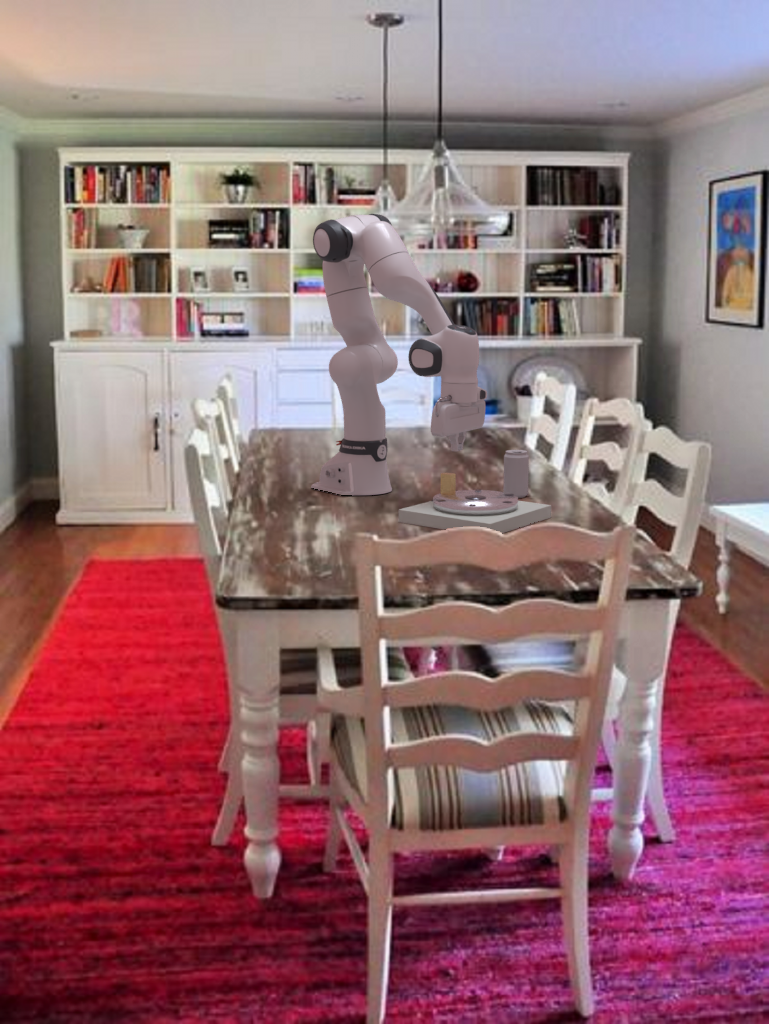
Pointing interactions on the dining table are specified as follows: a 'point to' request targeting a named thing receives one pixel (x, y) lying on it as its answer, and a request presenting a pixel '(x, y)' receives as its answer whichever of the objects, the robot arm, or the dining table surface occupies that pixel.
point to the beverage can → (516, 472)
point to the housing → (475, 517)
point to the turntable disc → (472, 499)
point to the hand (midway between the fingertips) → (456, 450)
